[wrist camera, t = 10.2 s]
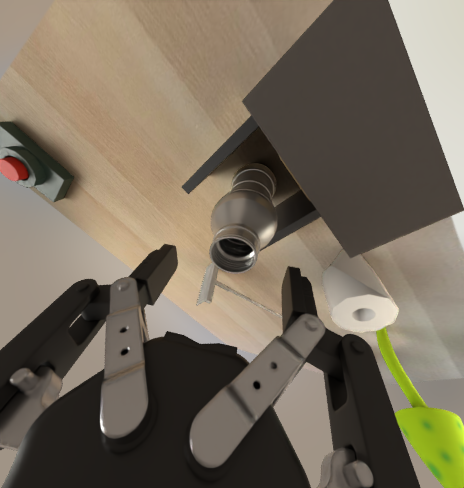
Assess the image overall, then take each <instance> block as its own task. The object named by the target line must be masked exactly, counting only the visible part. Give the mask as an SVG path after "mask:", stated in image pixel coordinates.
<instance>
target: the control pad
mask: <svg viewBox="0 0 464 488" xmlns="http://www.w3.org/2000/svg"><path fill="white" fill-rule="evenodd" d="M9 157H14V158H17V159H18V160H19V161H20V162H22V163H23V165H24V166H25V167H26V169H27V171H28V174H29V177H28V178H27V179H23V180H19V181H15V182H16V183H18V184H19V185H22V186H25V187H27V188H28V187H33V186H34V187H35V188H36V189H37V190H39V191H40V192H41V193H42V194H44V195H45V196H46V197H47V198H49V199H50V200H51V201H52V202H56V201H58V200H61V199H63V198H64V196H65V194H66V192H67V190H68V188H69V186H70V185H71V183H72V181H73V179H74V176H72V175H71V174H70V173H69V172H68V171H67V170H66V169H64V168H63V167H62V166H61V165H60V164H59V163H58V162H56V161H55V160H54V159H53V158H52V157H51V156H50V155H48V154H47V153H46V152H45V151H44V150H43V149H42V148H41V147H39V146H38V145H37V144H36V143H35V142H34V141H33V140H31V139H30V138H29V137H28V136H27V135H26V134H25V133H23V132H22V131H21V130H20V129H19V128H18V127H17V126H15V125H14V124H13V123H12V122H0V159H2V158H9Z"/></svg>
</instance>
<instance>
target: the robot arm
mask: <svg viewBox="0 0 464 488" xmlns="http://www.w3.org/2000/svg"><path fill="white" fill-rule="evenodd" d="M177 265H178V260H177V251H176V246H173V245H168V244H164V245H163V246H162V247H161V248H160V249H159V250H155V251H153V252H151V253H150V254H149V255H148V256H147V257H146V259H144V260H143V261H142V263H141V264H140V265H139V266H138V267H137V268H136V269H135V270H134V271H133V272H132V274H131V275H130V276H129V277H124V278H121V279H118V280H117V281H115V282H114V283H113V284H111V285H98V284H97V282H96V281H95V280H93V279H85V280H81V281H78V282H76V283H75V284H73V285H72V286H71V287H70V288H69V289H67V291H65V292H64V293H63V294H62V295H61V296H60V297H59V298H58V299H56V300H55V301H54V302H53V303H52V304H51V305H50V306H49V307H48V308H46V309H45V310H44V311H43V312H42V313H41V314H40V315H39V316H38V317H37V318H35V319H34V320H33V321H32V322H31V323H30V324H29V325H28V326H27V327H26V328H24V329H23V330H22V331H21V332H20V333H19V334H18V335H17V336H16V337H15V338H13V339H12V340H11V341H10V342H9V343H8V344H7V345H6V346H5V347H3V348H2V349H1V350H0V450H2V449H4V448H7V449H11V450H16V451H18V452H17V454H16V457H15V460H14V462H13V465H12V467H11V469H10V471H9V474H8V476H7V478H6V480H5V482H4V483H3V485H2V487H1V488H311V487H310V484H309V481H308V478H307V475H306V473H305V471H304V469H303V467H302V465H301V463H300V460H299V458H298V457H297V454H296V453H295V450H294V448H293V446H292V445H291V442H290V441H289V438H288V437H287V434H286V433H285V431H284V428H283V426H282V424H281V422H280V420H279V418H278V416H277V414H276V412H275V410H274V408H273V407H274V406H275V404H276V403H277V402H278V400H279V399H280V397H281V396H282V395H283V393H284V391H285V390H286V389H287V388H288V386H289V385H290V383H291V382H292V381H293V379H294V378H295V377H296V375H297V374H298V373H299V371H300V370H301V369H302V367H303V366H304V364H305V363H306V362H308V363H310V364H311V365H313V366H315V367H317V368H318V369H320V370H322V371H323V372H324V379H325V388H326V395H327V403H328V411H329V419H330V426H331V433H332V441H333V450H334V451H333V452H331V453H330V454H328V455H326V456H325V457H324V459H323V461H322V465H321V479H320V483H319V485H318V487H317V488H420V485H419V482H418V479H417V476H416V474H415V471H414V468H413V465H412V462H411V460H410V456H409V454H408V451H407V448H406V445H405V442H404V439H403V437H402V434H401V431H400V428H399V425H398V422H397V419H396V416H395V414H394V411H393V408H392V405H391V402H390V400H389V396H388V394H387V391H386V388H385V385H384V382H383V379H382V376H381V374H380V371H379V368H378V365H377V362H376V359H375V356H374V354H373V351H372V349H371V347H370V346H369V344H368V343H367V342H366V341H365V340H363V339H362V338H360V337H359V336H357V335H354V334H347V335H345V336H344V337H342V336H340V335H338V334H336V333H334V332H332V331H330V330H328V329H327V328H326V327H325V326H324V324H323V322H322V321H321V320H320V319H319V318H318V315H317V310H316V305H315V300H314V297H313V291H312V286H311V283H310V281H309V280H308V279H307V277H302V276H301V272H300V268H295V267H290V266H288V267H287V270H286V273H285V277H284V280H283V283H282V323H283V334H282V335H281V336H280V337H279V336H277V337H276V338H275V339H274V340H273V341H272V342H271V343H270V344H269V345H268V346H267V347H266V348H265V349H264V350H263V351H262V352H261V353H260V354H259V355H258V356H257V357H256V358H255V359H254V360H253V361H252V362H251V363H249V362H248V361H247V360H246V359H245V358H243V357H242V356H241V355H239V354H237V347H233V346H229V345H224V344H220V343H217V344H199V343H197V342H195V341H193V340H191V339H190V338H188V337H186V336H184V335H181V334H177V333H172V332H168V331H167V332H166V334H165V336H164V337H158V338H154V339H151V340H149V335H148V329H147V323H146V316H145V310H144V308H145V306H146V305H147V304H148V305H154V303H155V302H156V300H157V299H158V297H159V296H160V294H161V293H162V291H163V289H164V288H165V286H166V285H167V283H168V282H169V280H170V279H171V277H172V275H173V274H174V272H175V271H176V269H177ZM80 314H81V316H80V317H79V318H78V319H77V320H76V321H75V322H74V323H73V325H72V326H71V327H70V325H71V324H72V322H73V321H74V320H75V319H76V318H77V317H78V316H79V315H80ZM105 322H106V339H105V340H106V341H105V369H103V370H102V371H100V372H98V373H97V374H95V375H94V376H92V377H91V378H89V379H88V380H86V381H85V382H83V383H82V384H80V385H79V386H77V387H76V388H74V389H72V390H71V391H69V392H68V393H66V394H65V395H64V396H62V397H60V398H59V393H60V391H61V389H62V384H63V383H62V379H63V378H64V376H65V375H66V374H67V372H68V371H69V370H70V368H71V367H72V366H73V364H74V363H75V362H76V360H77V359H78V358H79V356H80V355H81V354H82V352H83V351H84V350H85V348H86V347H87V346H88V344H89V343H90V342H91V340H92V339H93V338H94V336H95V335H96V334H97V332H98V331H99V330H100V328H101V327H102V326H103V324H104V323H105ZM69 327H70V328H69ZM58 398H59V399H58Z"/></svg>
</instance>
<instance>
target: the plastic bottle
mask: <svg viewBox="0 0 464 488" xmlns="http://www.w3.org/2000/svg"><path fill="white" fill-rule="evenodd" d="M275 191H276V178H275V176H274V174H273V173H272V171H271V170H270V169H269V168H268V167H266V166H265V165H263V164H260V163H251V164H247V165H245V166H243V167H241V168H240V169H239V170H238V171H237V172H236V173H235V174H234V176H233V179H232V183H231V190H230V191H229V193H227V194H226V195H225V196H224V197H222V198H221V199H220V200H219V202H218V203H217V204H216V205H215V207H214V209H213V210H212V214H211V229H212V233H213V235H214V238H213V242H212V244H211V247H210V252H209V254H210V258H211V260H212V262H213V263H214V265H215V266H216V267H218V268H219V269H221V270H223V271H225V272H228V273H234V274H238V273H244V272H246V271H249V270H250V269H251V268H252V267H253V266H254V265H255V263H256V261H257V257H258V254H259V251H260V249H262V248H264V247H265V246H266V245H267V244H268V243H269V242H270V241H271V239H272V238H273V236H274V234H275V232H276V229H277V216H276V211H275V209H274V206H273V204H272V198H273V196H274V193H275Z"/></svg>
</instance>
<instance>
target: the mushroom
mask: <svg viewBox="0 0 464 488" xmlns="http://www.w3.org/2000/svg"><path fill="white" fill-rule="evenodd" d="M376 334H377V341H378V345H379V349H380V351H381V354H382V356H383V358H384V360H385V362H386V364H387V366H388V368H389V370H390V371H391V373H392V375H393V376H394V378H395V380H396V381H397V383H398V384H399V386H400V387H401V389H402V391H403V392H404V394H405V395H406V397H407V399H408V400H409V402H410V403H411V405H412V407H413V408H406V409H402V410H399V411H397V412H396V413H395V416H396V419H397V422H398V425H399V427H400V429H401V430H402V431H403V433H404V435H405V436H406V438H407V439H408V441H409V442H410V444H411V445H412V446H413V448H414V449H415V451H416V452H417V454H418V455H419V456H420V458H421V459H422V461H423V462H424V463H425V464H426V466H427V467H428V468H429V470H430V471H431V472H432V473H433V475H434V476H435V477H436V478H437V480H438V481H439V482H440V483H441V484H442V486H443V487H444V488H464V426H463V424H462V421H461V419H460V417H459V416H458V415H456V414H454V413H452V412H450V411H446V410H442V409H437V408H428V406H427V405H426V404H425V403H424V401H423V400H422V398H421V397H420V395H419V394H418V392H417V391H416V389H415V388H414V386H413V385H412V383H411V381H410V380H409V378H408V376H407V375H406V373H405V372H404V370H403V368H402V366H401V364H400V363H399V361H398V359H397V357H396V355H395V352H394V350H393V348H392V345H391V343H390V340H389V337H388V334H387V331H386V327H384V328H382V329H380V330H377V331H376Z"/></svg>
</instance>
